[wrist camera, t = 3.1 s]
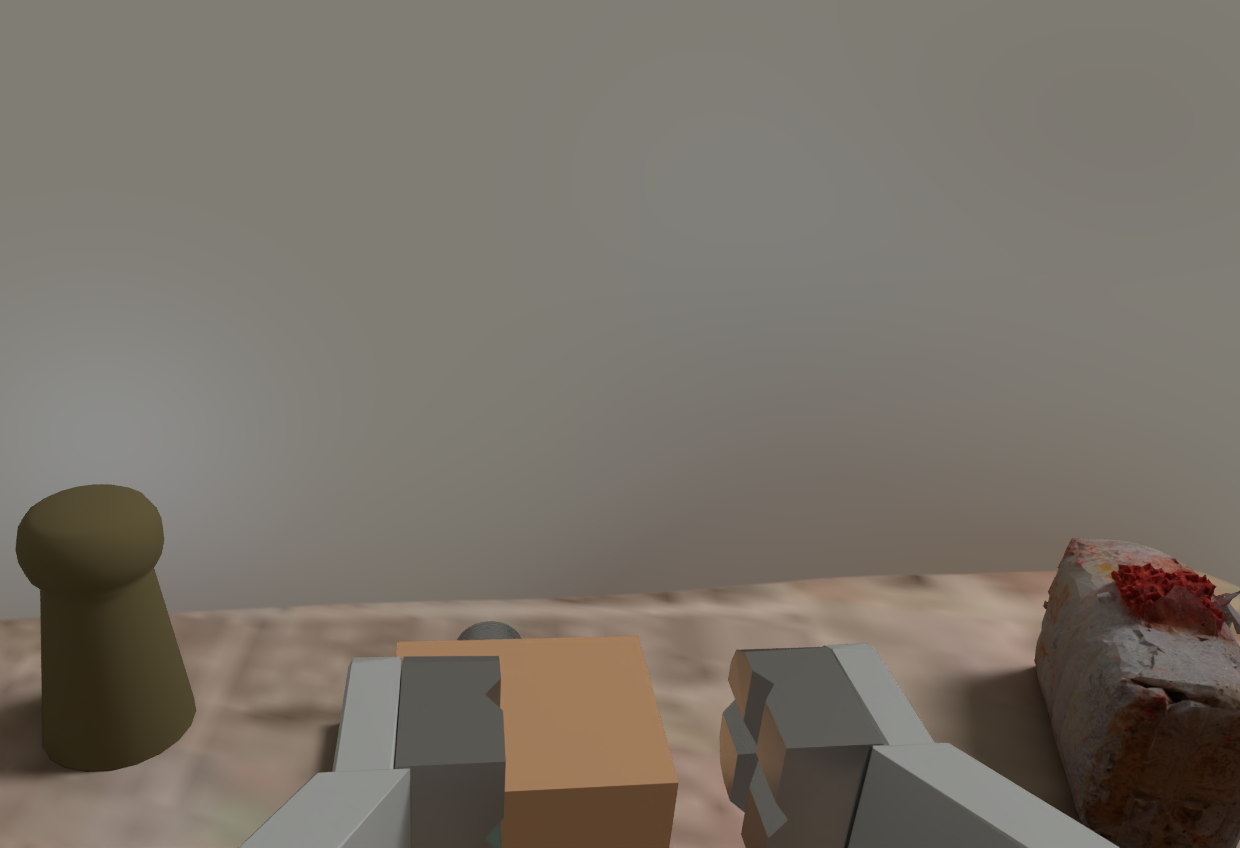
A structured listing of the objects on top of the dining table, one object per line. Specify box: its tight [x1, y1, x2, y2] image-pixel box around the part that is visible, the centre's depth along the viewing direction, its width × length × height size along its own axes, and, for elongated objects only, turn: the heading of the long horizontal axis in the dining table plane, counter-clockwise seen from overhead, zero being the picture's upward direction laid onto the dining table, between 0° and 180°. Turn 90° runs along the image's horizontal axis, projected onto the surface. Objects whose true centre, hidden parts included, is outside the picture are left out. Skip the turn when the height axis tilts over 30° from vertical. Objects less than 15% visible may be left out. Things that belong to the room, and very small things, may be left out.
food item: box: [1034, 538, 1240, 848], centre depth 44 cm, size 14×8×10 cm, turn 168°
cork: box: [16, 485, 196, 772], centre depth 40 cm, size 6×6×11 cm
